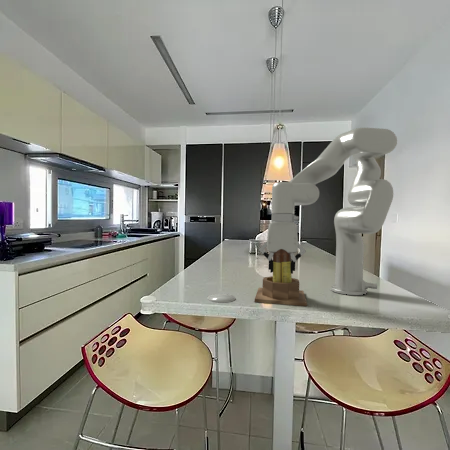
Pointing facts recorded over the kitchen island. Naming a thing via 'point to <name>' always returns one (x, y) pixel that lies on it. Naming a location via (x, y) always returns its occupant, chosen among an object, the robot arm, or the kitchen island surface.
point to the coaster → (221, 298)
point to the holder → (280, 293)
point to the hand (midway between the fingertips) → (281, 272)
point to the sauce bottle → (282, 267)
